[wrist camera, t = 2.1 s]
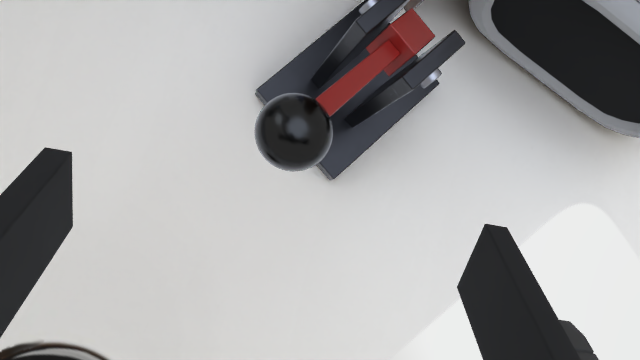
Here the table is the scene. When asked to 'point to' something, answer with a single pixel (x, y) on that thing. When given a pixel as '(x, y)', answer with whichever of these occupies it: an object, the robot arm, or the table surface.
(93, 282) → the table surface
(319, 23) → the table surface
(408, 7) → the dark brown block
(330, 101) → the clamp lever
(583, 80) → the alarm clock
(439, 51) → the toggle clamp
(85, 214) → the table surface
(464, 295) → the robot arm
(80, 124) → the table surface
